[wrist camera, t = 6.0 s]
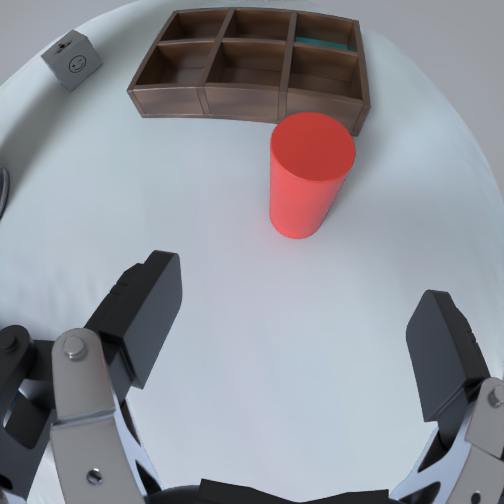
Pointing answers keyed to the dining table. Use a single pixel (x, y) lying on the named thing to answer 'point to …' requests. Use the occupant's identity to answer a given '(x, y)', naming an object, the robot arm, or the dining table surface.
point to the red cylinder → (307, 171)
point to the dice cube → (72, 59)
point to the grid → (254, 67)
